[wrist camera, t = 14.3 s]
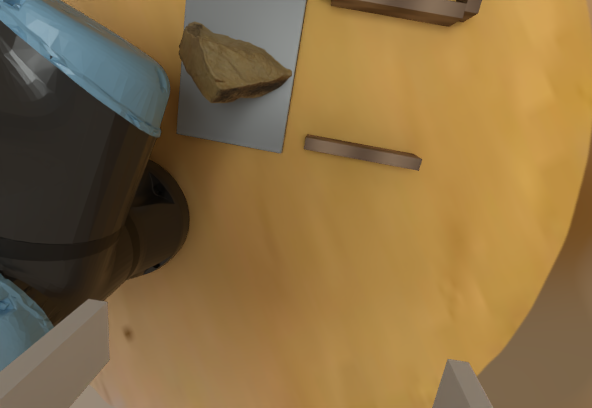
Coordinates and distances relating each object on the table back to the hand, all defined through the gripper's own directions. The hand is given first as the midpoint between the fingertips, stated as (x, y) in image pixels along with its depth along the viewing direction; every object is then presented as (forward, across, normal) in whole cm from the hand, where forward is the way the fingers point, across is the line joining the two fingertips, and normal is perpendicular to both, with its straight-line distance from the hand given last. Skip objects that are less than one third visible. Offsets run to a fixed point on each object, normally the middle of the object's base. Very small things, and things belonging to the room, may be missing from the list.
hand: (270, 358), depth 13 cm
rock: (+27, -9, +13) cm, 32 cm away
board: (+28, -9, +13) cm, 32 cm away
